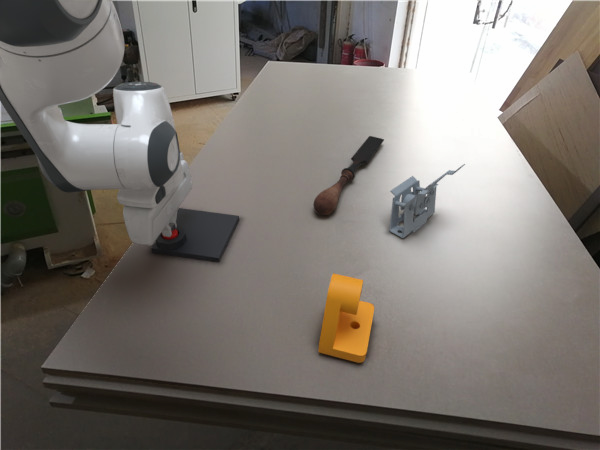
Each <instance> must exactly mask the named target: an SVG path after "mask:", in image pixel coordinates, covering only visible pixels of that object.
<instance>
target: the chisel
mask: <svg viewBox="0 0 600 450" xmlns="http://www.w3.org/2000/svg"><path fill="white" fill-rule="evenodd" d="M384 141H385V139H384V138H381V137H377V136H373V135H369V136H368V137H367V138H366V139H365V141H364V142H363V143H362V144H361V146H360V147H359V148H358V149H357V151H356V152H355V153H354V154H353V155H352V156H351V158H350V160H351V161H352V164H350V165H349V166H348V167H344V168H343V169H342V170H341V173H340V174H341V175H340V177H339V180H337V182H335V183H334V184H333V185H331V186H330V187H328V188H326V189H323V190H322V191H321V192H320V193H318V194H317V196H315V198H314V200H313V209H314V211H315V213H316V214H317V215H320V216H328V215H330V214H332V213H333V212H334V211H335V209H336V207H337V206H338V203H339V200H340V195H341V192H342V189H343V188H344V186H345V185H346V184H347V183H348V182H352V181H353V180H354V179H355V177H356V174H355V173H356V171H357V169H358V168H359V167H360V166H361V165H367V164H368V163H369V162H370V160H371V159H372V158H373V156H374V155H375V153H376V152H377V151H378V149H379V148H380V146H382V144H383V142H384Z"/></svg>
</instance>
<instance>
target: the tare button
mask: <svg viewBox="0 0 600 450" xmlns="http://www.w3.org/2000/svg"><path fill="white" fill-rule="evenodd" d="M162 236H163V235H162ZM177 236H178V232H177V230H176V229H175V231H174V232H173V234H172V235H171V237H166V236H163V239H167V240H170V239H174V238H176V237H177Z"/></svg>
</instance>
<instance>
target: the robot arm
mask: <svg viewBox="0 0 600 450" xmlns="http://www.w3.org/2000/svg"><path fill="white" fill-rule="evenodd" d="M124 55H125V37H124V33H123V29H122V25H121V21H120V18H119V15H118V12H117V9H116V6H115V4H114V1H113V0H0V103H1V105H2V107H3V108H4V110H5V111H6V113H7V115H8V116H9V117H10V119H11V121H12V122H13V123H14V125H15V126H16V128H17V129H18V131H19V132H20V134H21V135H22V137H23V138H24V140H25V141H26V142H27V144H28V145H29V147H30V149H31V150H32V152H33V153H34V154H35V158H36V160H37V162H38V166H39V168H40V170H41V172H42V174H43V175H44V177H45V178H46V180H47V181H48V182H49V183H51V184H52V185H53V186H54V187H56V188H57V189H58V190H60V191H61V192H64V193H79V192H89V191H102V190H103V191H104V190H106V191H107V190H108V191H109V190H118V191H117V193H116V194H117V195H116V199H117V202H118V204H120V205H123V209H122V217H123V221H124V225H125V228H126V232H127V234H128V237H129V239H130V241H131V242H132V243H134V244H136V245H141V246H153V245H154V243H155V242H156V239H157V238H158V236H159V235H160V233H161V232H162V235H163V236H166V237H171V235H172V234H173V232H174V231H175V229H176V228H177V225H176V218H177V210H178V209H179V208H180V206H181V205H182V203H183V202H184V200H185V199H186V198H187V197H188V195H189V194H190V193H191V191H192V189H193V185H194V184H193V183H194V182H193V176H192V173H191V168H190V165H189V162H188V161H187V160H185V158H184V157H185V156H184V153H183V152H182V151H181V150H180V142H179V138H178V133H177V131H176V125H175V120H174V116H173V111H172V107H171V104H170V101H169V98H168V95H167V92H166V90H165V88H164V87H163V86H162V85H161V84H159V83H157V82H151V81H132V82H131V81H130V82H123V83H120V84H117V85H116V86H115V87H114V88H113V91H112V96H113V97H112V98H113V104H114V105H113V106H114V113H115V118H116V123H79V122H78V123H77V122H72V121H68V120H66V119H65V118H64V116H63V114H62V112H61V110H60V107H59V106H61V105H66V104H71V103H75V102H81V101H85V100H86V99H89V98H91V97H92V96H95V95H96V94H99V92H101V91H102V90H103V89H105V88H106V87H107V86H108V85H109V84H110V83H111V82H112V80H113V79H114V78H115V76H116V75H117V73H118V72H119V71H120V70H119V69H120V67H121V65H122V63H123V60H124Z"/></svg>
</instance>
